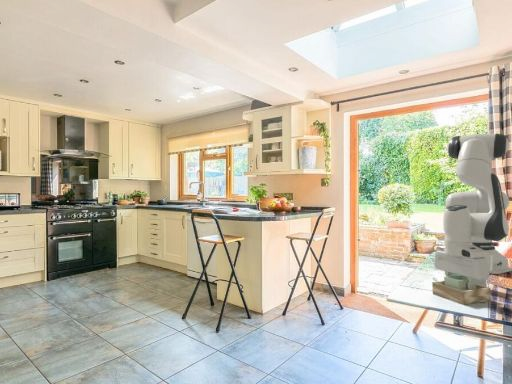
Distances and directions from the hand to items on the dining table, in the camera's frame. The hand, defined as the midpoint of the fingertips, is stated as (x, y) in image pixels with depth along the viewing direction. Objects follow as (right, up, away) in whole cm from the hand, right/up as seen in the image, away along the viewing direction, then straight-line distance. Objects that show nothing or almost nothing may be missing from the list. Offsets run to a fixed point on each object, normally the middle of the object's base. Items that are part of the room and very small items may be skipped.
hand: (460, 286), depth 116 cm
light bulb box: (+11, -4, +12) cm, 17 cm away
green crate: (0, -2, 0) cm, 2 cm away
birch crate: (0, -4, 0) cm, 4 cm away
